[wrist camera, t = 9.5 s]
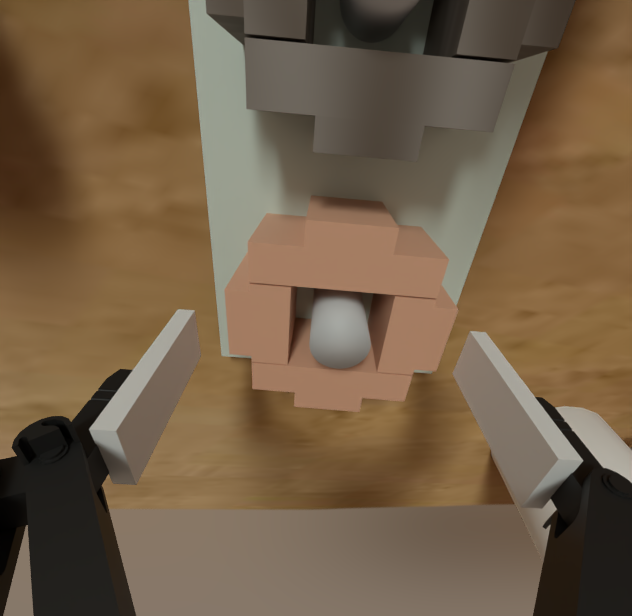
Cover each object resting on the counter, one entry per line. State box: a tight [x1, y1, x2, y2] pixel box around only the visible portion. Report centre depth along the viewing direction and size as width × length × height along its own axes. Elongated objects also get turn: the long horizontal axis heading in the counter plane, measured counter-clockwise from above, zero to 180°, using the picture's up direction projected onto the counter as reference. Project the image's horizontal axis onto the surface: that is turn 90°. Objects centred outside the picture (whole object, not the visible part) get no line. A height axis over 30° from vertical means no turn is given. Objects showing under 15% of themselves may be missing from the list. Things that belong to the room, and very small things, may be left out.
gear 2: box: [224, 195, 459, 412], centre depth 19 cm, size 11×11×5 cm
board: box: [189, 0, 548, 374], centre depth 15 cm, size 16×27×8 cm, turn 175°
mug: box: [491, 406, 632, 562], centre depth 25 cm, size 14×10×11 cm
